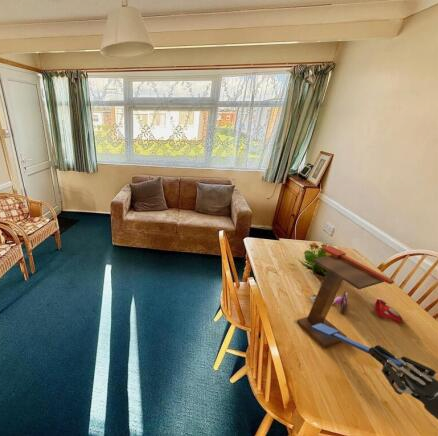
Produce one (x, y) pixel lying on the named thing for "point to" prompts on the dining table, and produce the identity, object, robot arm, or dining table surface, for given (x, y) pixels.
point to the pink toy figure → (341, 301)
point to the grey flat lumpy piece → (313, 298)
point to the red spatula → (355, 263)
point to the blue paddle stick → (345, 339)
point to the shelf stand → (333, 293)
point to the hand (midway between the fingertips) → (373, 348)
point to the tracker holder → (386, 311)
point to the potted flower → (310, 256)
